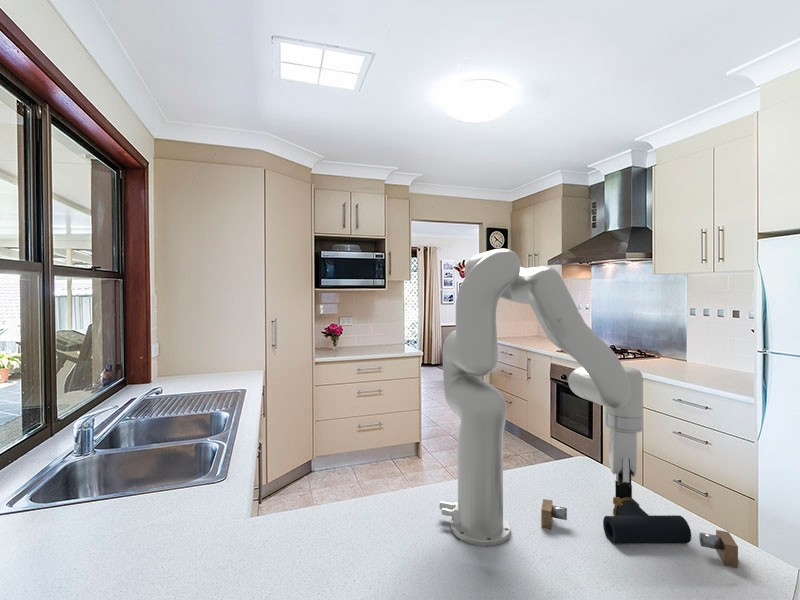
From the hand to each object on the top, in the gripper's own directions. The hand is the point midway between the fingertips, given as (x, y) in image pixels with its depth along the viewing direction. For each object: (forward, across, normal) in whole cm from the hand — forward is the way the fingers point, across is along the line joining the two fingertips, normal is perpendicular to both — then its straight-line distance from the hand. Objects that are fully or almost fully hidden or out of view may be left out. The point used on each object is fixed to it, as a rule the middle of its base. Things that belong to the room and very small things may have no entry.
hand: (623, 500), depth 95 cm
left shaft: (+3, +12, -14) cm, 19 cm away
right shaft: (+2, +12, +15) cm, 19 cm away
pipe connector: (+3, +8, +2) cm, 9 cm away
